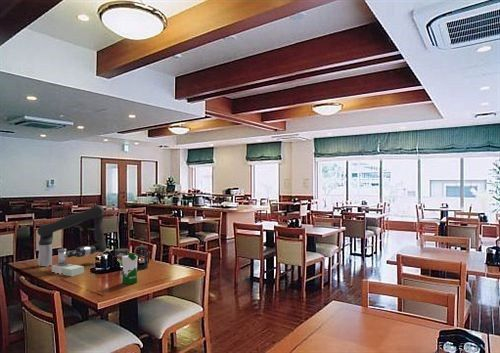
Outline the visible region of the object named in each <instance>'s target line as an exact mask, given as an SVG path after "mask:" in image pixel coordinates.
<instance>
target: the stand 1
mask: <svg viewBox="0 0 500 353" xmlns="http://www.w3.org/2000/svg"><path fill="white" fill-rule="evenodd" d="M69 266H73V264H71V263H67V265H65V266H58V264H53V265H51V273H52V272H55V273H54V274H57V273H59V274H58V275H62V274H61V273H63V268H65V267H69Z"/></svg>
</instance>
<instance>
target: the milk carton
mask: <svg viewBox="0 0 500 353" xmlns="http://www.w3.org/2000/svg"><path fill="white" fill-rule="evenodd" d="M137 259H138V256H136V252H135V253H134V252H130V253H129V252H128V255H127V256H122V262H123V269H122V280H121V281H122V282H121V283H122V284H125V285H127V286H129V285H133V284H137V283H138V269H137Z"/></svg>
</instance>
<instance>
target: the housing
mask: <svg viewBox="0 0 500 353" xmlns="http://www.w3.org/2000/svg"><path fill="white" fill-rule="evenodd" d="M66 251H68V250H67V248H58V249H57V252H58V254H57V255H58V260H57V261H58V263H57V265H58V266H65V265H67V264H68V263H67V255H66V254H67V253H66Z"/></svg>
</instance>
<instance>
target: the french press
mask: <svg viewBox="0 0 500 353" xmlns="http://www.w3.org/2000/svg"><path fill="white" fill-rule="evenodd" d="M138 240H139V241H140V242H143V240H145V238H139V239H138ZM135 248H136V250H140V251H138V252H135V255H136V256H138V259H137V271H139V270H147V269H149V264H150V251H146V250H148V245H138V246H137V245H136V246H135ZM143 256H144V257H143ZM140 257H141V258H140Z"/></svg>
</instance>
